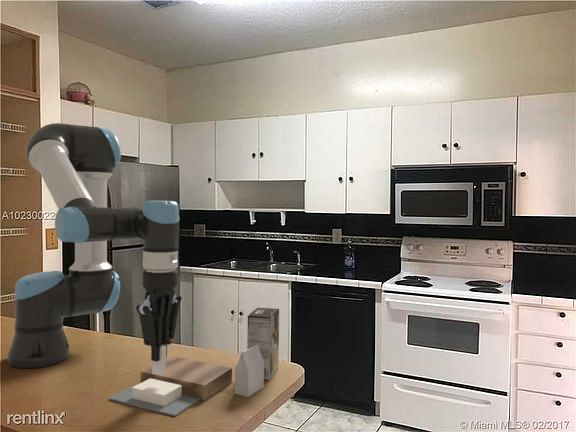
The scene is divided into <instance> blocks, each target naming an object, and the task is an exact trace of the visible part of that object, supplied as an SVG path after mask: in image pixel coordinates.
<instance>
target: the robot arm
mask: <svg viewBox="0 0 576 432" xmlns="http://www.w3.org/2000/svg"><path fill="white" fill-rule="evenodd" d="M25 150H26V156H27V159H28V162H29V163H30V165H31V166H32V168H34V169H35V170H36V171H38V172H39V174H40V175H41V178H42V180H43V181H44V184H45V186H46V187H47V189H48V191H49V193H50V194H49V195H50V196H51V198H52V199H53V202H54V203H55V205H56V207H57V209H58V210H57V211H56V214H55V218H54V228H55V232H56V233H55V234H56V236H57V238H58V239H59V241H61V242H64V243H74V263H73V264H72V265H71V266H70V267H69V268H68V271H69V274H68V275H65V274H64V273H63V272H62V271H61V270H49V271H47V270H46V271H41V272H35V273H32V274H28V275H24V276H23V277H21V278H19V279H18V280H17V281H16V282H15V287H14V295H13V298H14V335H13V338H12V341H11V344H10V347H9V350H8V352H7V356H6V357H7V358H6V362H8V363H7V365H8V364H9V365H8V366H10V365H11V366H10V367H12V366H14V367H13V368H17V369H18V368H19V369H35V368H44V367H47V366H48V367H49V366H52V365H57V364H58V363H59V364H60V363H61V362H64V361H66V360H67V359H68V358H69V357H70V356H71V354H70V353H71V347H70V344H69V342H68V339H67V336H66V333H65V331H64V325H63V324H64V318H70V317H76V316H82V315H90V314H100V313H101V312H102V313H103V312H107V311H110V310H112V309H113V308H114V307H115V305H116V304H117V302H118V300H119V297H120V291H121V281H120V276H119V275H118V273H117V272H116V271H113V265H112V264H110V263H109V262H108V260H107V259H108V258H107V257H108V256H107V255H108V241H129V240H130V241H132V240H142V241H143V242H142V243H143V249H142V250H143V251H142V268H143V269H144V271H143V272H142V287H143V288H144V289H145V294H144V301H143V303H142V304H137V305H136V311H137V313H138V315H139V320H140V328H141V332H142V338H143V344H144V345H145V346H148V347H150V351H151V352H150V354H151V355H150V356H151V357H150V359H151V366H152V374H157V375H161V376H162V375H164V374H166V359H167V356H168V345H171V344H172V342H173V339H174V338H175V334H176V327H177V320H178V319H177V318H178V313H179V308H180V304H181V301H182V296H181V295H177V294H176V292H175V288H177V287H178V285H179V284H178V283H179V282H178V281H179V280H178V279H179V272H178V270H176V269H177V268H178V267H179V265H178V262H179V260H178V259H179V258H178V256H179V232H180V231H179V230H180V215H179V204H178V202H176V201H174V200H155V199H154V200H146V201H145V202H144V204H143V206H130V207H108V180H109V179H110V178H111V176H113V172H114V171H113V170H115V169H118V167H119V165H120V163H121V162H120V161H121V160H122V159H121V158H122V157H121V156H122V154H121V153H122V152H121V145H120V141H119V139H118V137H117V135H116V134H115V132H113V131H112V130H110V129H108V128H103V127H98V126H87V125H77V124H67V123H62V122H61V123H60V122H56V123H54V122H53V123H50V124H46V125H43V126H40V127H39V128H37V130H35V131H34V132H33V133H32V134H31V136H30V137H29V139H28V141H27V144H26V149H25Z"/></svg>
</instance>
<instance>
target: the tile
mask: <svg viewBox="0 0 576 432" xmlns="http://www.w3.org/2000/svg"><path fill="white" fill-rule="evenodd" d="M137 384H138V385H136V384H135V385H136V386H134V385H133V386H134V387H132V386H131V387H132V398H133V399H137V400H141V401H145V402H149V403H153V404H157V405H161V406H166V405H167V404H169V403H171V402H172V401H174V400H176V399H177V398H179V397H181V396H182V385H178V384H174V383H169V382H165V381H160V380H156V379H151V378H150V379H148V380H146V381H144V382H142V383H141V382H140V383H137Z"/></svg>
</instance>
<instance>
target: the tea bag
mask: <svg viewBox="0 0 576 432" xmlns="http://www.w3.org/2000/svg"><path fill="white" fill-rule="evenodd" d="M238 359H239V360H238V361H237V364H236V366H235V368H234V394H235V395H238V396H243V397H246V398H249V397H250V396H252V395H254V394H255V393H256V392H259V391H260V390H261V389H263V388H265V387H264V386H265V384H264V383H265V379H264V361H263V358H262V356H261V353H260V350H259V345H255V346H253V347H251V348H249V349H246V350H245V349H244V350H243V351H240V356H239V358H238Z"/></svg>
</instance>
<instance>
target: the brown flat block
mask: <svg viewBox="0 0 576 432" xmlns="http://www.w3.org/2000/svg"><path fill="white" fill-rule="evenodd" d="M150 378H151V379H156V380H160V381H165V382H169V383H174V384H178V385H182V395H187V396H191V397H195V398H200V401H204V402H205V401H206V400H207V399H209V398H211V397H212V396H213V395H215V394H216V393H218V392H219V391H221V390H222V389H224V388H225V387H227V386H228V385H230V384H231V383H233V368H232V367H229V366H224V365H218V364H214V363H209V362H203V361H197V360H193V359H187V358H184V357H183V358H182V357H177V356H171V357H168V358H166V374H164V375H162V376H161V375H157V374H152V365H151V366H150V367H147V368H145V369H142V370H141V371H140V383H142V382H144V381H146V380H148V379H150ZM229 383H230V384H229Z"/></svg>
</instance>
